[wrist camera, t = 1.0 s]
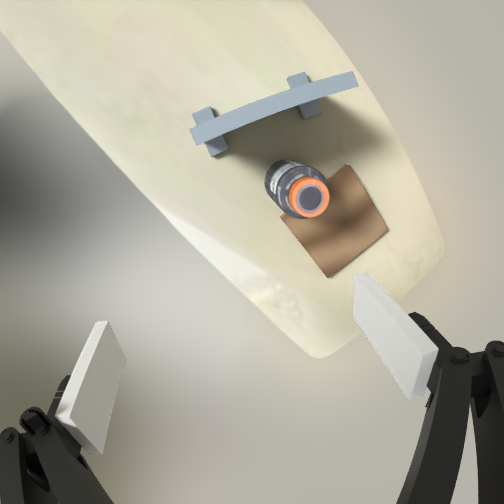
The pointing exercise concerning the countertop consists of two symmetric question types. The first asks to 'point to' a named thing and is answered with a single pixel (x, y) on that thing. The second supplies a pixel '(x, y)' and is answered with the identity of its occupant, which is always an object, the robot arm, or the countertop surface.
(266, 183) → the pill bottle
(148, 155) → the countertop surface
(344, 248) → the plinth
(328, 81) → the screen
